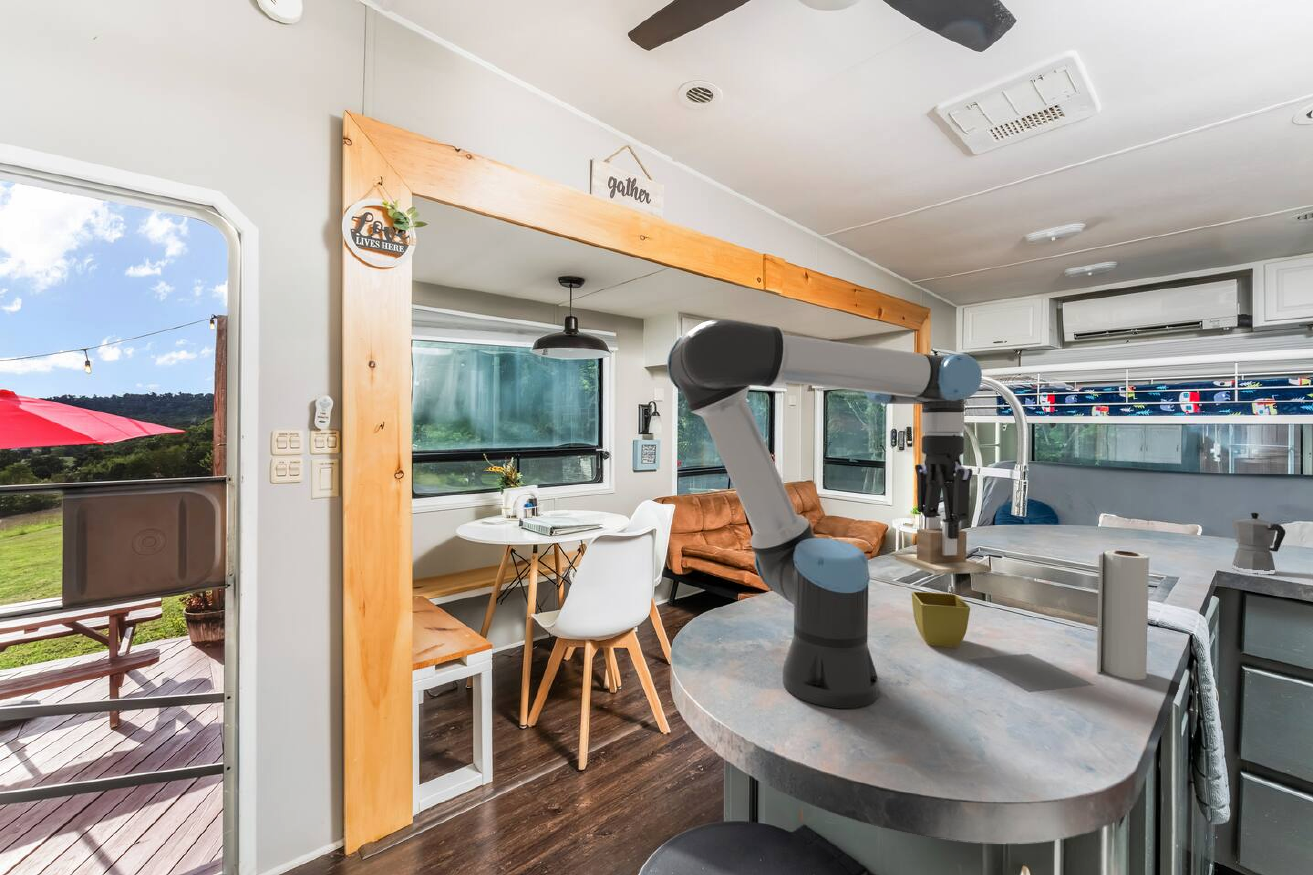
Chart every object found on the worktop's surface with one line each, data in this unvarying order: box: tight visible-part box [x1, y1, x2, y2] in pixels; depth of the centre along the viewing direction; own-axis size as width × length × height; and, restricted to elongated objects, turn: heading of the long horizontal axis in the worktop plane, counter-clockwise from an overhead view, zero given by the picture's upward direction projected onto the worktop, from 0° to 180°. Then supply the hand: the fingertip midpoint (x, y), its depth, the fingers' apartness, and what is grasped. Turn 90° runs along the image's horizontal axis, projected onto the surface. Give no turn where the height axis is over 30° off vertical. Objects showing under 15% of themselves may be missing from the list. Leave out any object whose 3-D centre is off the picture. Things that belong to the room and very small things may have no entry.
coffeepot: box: [1231, 512, 1286, 571], centre depth 170 cm, size 15×9×18 cm, turn 175°
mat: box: [968, 653, 1096, 693], centre depth 98 cm, size 13×13×1 cm
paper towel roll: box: [1096, 550, 1150, 681], centre depth 98 cm, size 7×6×21 cm
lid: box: [894, 528, 992, 576], centre depth 111 cm, size 12×12×7 cm
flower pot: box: [911, 591, 971, 649], centre depth 111 cm, size 9×9×9 cm
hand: (941, 551), depth 111 cm, fingers closed on lid, 4 cm apart
